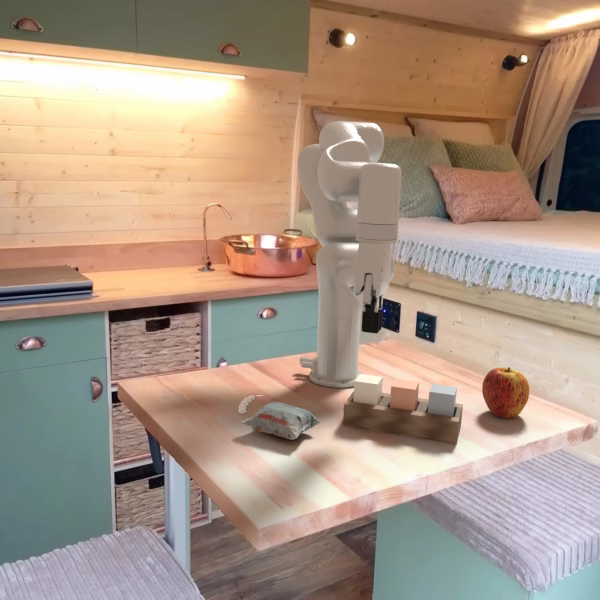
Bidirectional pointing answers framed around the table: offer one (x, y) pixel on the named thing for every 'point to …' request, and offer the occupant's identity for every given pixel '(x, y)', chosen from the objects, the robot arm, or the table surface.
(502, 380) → the apple
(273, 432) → the packaged food
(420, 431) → the frame block
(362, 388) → the key cream
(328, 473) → the table surface
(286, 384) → the table surface
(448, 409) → the grey block
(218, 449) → the table surface
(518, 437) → the table surface
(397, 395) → the key terracotta
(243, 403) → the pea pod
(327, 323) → the robot arm
